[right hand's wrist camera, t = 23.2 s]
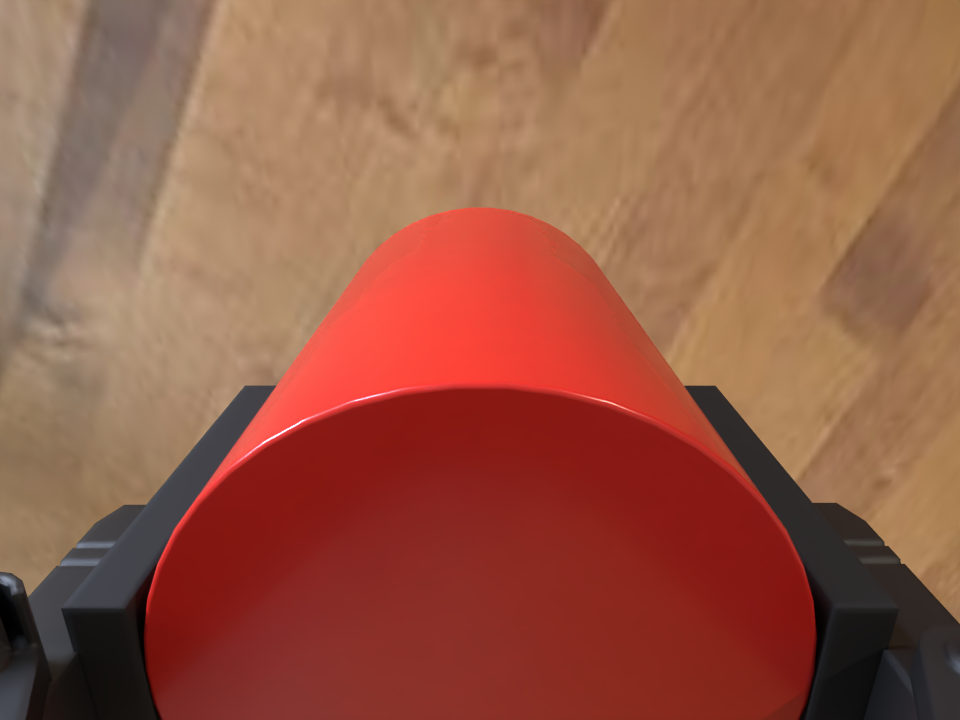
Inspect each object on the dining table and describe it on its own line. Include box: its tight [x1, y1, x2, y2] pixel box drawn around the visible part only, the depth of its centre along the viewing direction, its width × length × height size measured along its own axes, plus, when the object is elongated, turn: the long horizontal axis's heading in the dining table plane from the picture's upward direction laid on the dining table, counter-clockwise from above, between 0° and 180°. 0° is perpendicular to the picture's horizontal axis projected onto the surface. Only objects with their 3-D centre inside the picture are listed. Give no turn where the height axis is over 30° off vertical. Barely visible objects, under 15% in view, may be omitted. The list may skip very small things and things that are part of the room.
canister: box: [144, 208, 817, 720], centre depth 14 cm, size 8×8×12 cm
